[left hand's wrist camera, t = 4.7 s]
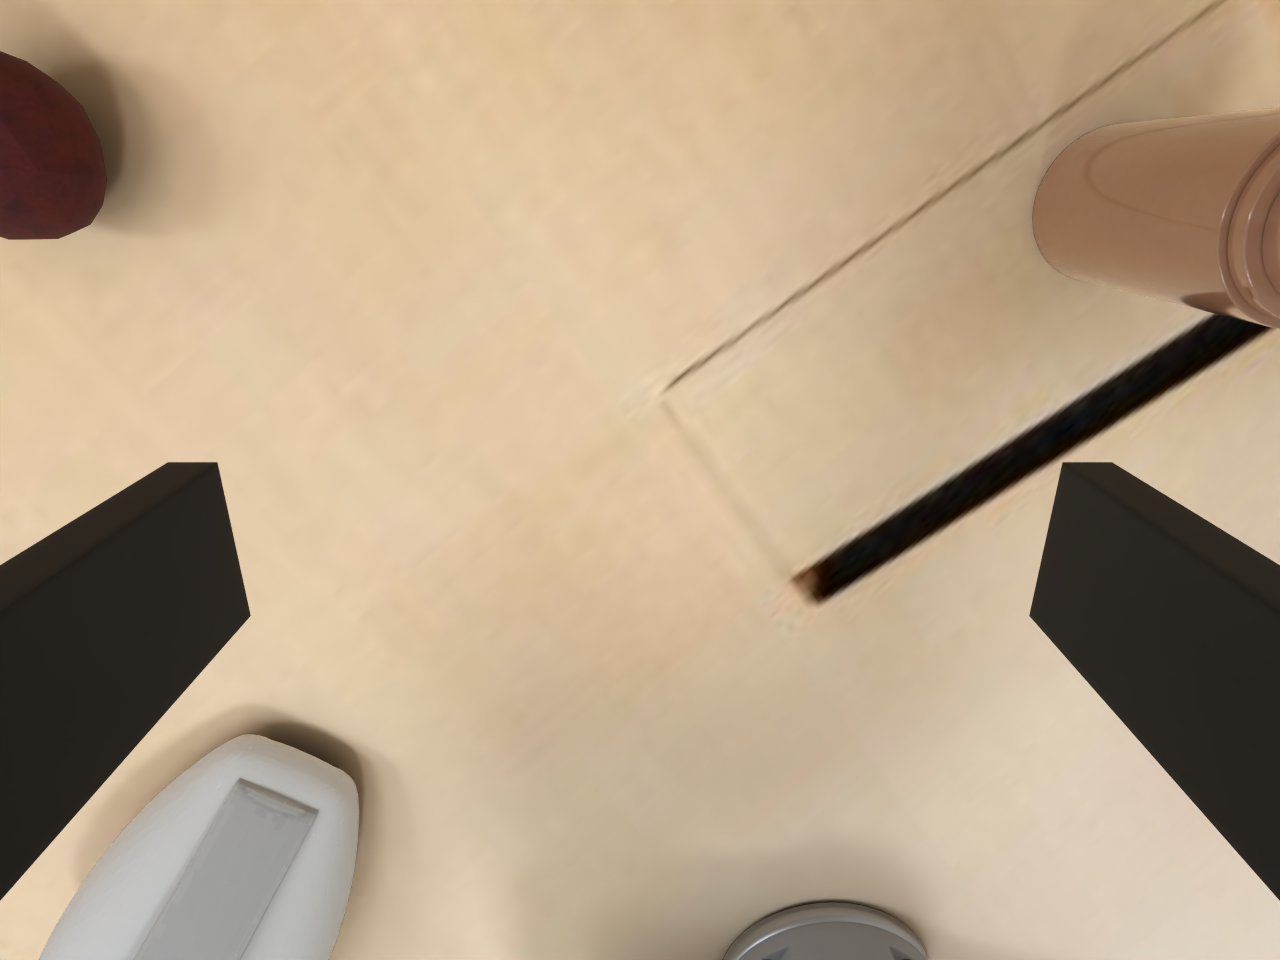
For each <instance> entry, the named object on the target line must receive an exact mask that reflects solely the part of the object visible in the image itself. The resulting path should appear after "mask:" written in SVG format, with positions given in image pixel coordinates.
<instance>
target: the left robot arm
mask: <svg viewBox="0 0 1280 960" xmlns="http://www.w3.org/2000/svg"><path fill="white" fill-rule="evenodd" d="M250 616H251V615H250V611H249V606H248V602H247V597H246V592H245V588H244V583H243V579H242V574H241V569H240V565H239V560H238V555H237V551H236V546H235V542H234V537H233V532H232V528H231V523H230V519H229V514H228V509H227V505H226V500H225V496H224V491H223V486H222V482H221V477H220V473H219V468H218V463H217V462H168V463H166V464H165V465H163V466H161V467H160V468H158V469H156V470H155V471H153V472H152V473H150V474H148V475H147V476H145V477H143V478H142V479H140V480H139V481H137V482H135V483H134V484H132V485H130V486H129V487H127V488H125V489H124V490H122V491H121V492H119V493H117V494H116V495H114V496H112V497H111V498H109V499H108V500H106V501H104V502H103V503H101V504H99V505H98V506H96V507H95V508H93V509H91V510H90V511H88V512H86V513H85V514H83V515H81V516H80V517H78V518H77V519H75V520H73V521H72V522H70V523H68V524H67V525H65V526H64V527H62V528H60V529H59V530H57V531H55V532H54V533H52V534H51V535H49V536H47V537H46V538H44V539H42V540H41V541H39V542H37V543H36V544H34V545H33V546H31V547H29V548H28V549H26V550H24V551H23V552H21V553H20V554H18V555H16V556H15V557H13V558H11V559H10V560H8V561H7V562H5V563H3V564H2V565H0V900H1V899H2V898H3V897H4V896H5V895H6V893H7V892H8V891H9V890H10V889H11V888H12V887H13V885H14V884H15V883H16V882H17V881H18V880H19V879H20V877H21V876H22V875H23V874H24V873H25V872H26V871H27V870H28V868H29V867H30V866H31V865H32V864H33V863H34V862H35V860H36V859H37V858H38V857H39V856H40V855H41V854H42V852H43V851H44V850H45V849H46V848H47V847H48V846H49V844H50V843H51V842H52V841H53V840H54V839H55V838H56V837H57V835H58V834H59V833H60V832H61V831H62V830H63V829H64V827H65V826H66V825H67V824H68V823H69V822H70V821H71V819H72V818H73V817H74V816H75V815H76V814H77V813H78V812H79V810H80V809H81V808H82V807H83V806H84V805H85V804H86V802H87V801H88V800H89V799H90V798H91V797H92V796H93V794H94V793H95V792H96V791H97V790H98V789H99V788H100V786H101V785H102V784H103V783H104V782H105V781H106V780H107V779H108V777H109V776H110V775H111V774H112V773H113V772H114V771H115V769H116V768H117V767H118V766H119V765H120V764H121V763H122V761H123V760H124V759H125V758H126V757H127V756H128V755H129V753H130V752H131V751H132V750H133V749H134V748H135V747H136V746H137V744H138V743H139V742H140V741H141V740H142V739H143V738H144V736H145V735H146V734H147V733H148V732H149V731H150V730H151V728H152V727H153V726H154V725H155V724H156V723H157V722H158V721H159V719H160V718H161V717H162V716H163V715H164V714H165V713H166V711H167V710H168V709H169V708H170V707H171V706H172V705H173V703H174V702H175V701H176V700H177V699H178V698H179V697H180V695H181V694H182V693H183V692H184V691H185V690H186V689H187V688H188V686H189V685H190V684H191V683H192V682H193V681H194V680H195V678H196V677H197V676H198V675H199V674H200V673H201V672H202V670H203V669H204V668H205V667H206V666H207V665H208V664H209V662H210V661H211V660H212V659H213V658H214V657H215V656H216V655H217V653H218V652H219V651H220V650H221V649H222V648H223V647H224V645H225V644H226V643H227V642H228V641H229V640H230V639H231V637H232V636H233V635H234V634H235V633H236V632H237V631H238V630H239V628H240V627H241V626H242V625H243V624H244V623H245V622H246V620H247V619H248V618H249V617H250ZM1029 616H1030V617H1031V618H1032V619H1033V620H1034V622H1035V623H1036V624H1037V625H1038V626H1039V627H1040V628H1041V630H1042V631H1043V632H1044V633H1045V634H1046V635H1047V636H1048V637H1049V639H1050V640H1051V641H1052V642H1053V643H1054V644H1055V645H1056V647H1057V648H1058V649H1059V650H1060V651H1061V652H1062V653H1063V655H1064V656H1065V657H1066V658H1067V659H1068V660H1069V661H1070V662H1071V664H1072V665H1073V666H1074V667H1075V668H1076V669H1077V670H1078V672H1079V673H1080V674H1081V675H1082V676H1083V677H1084V678H1085V680H1086V681H1087V682H1088V683H1089V684H1090V685H1091V686H1092V688H1093V689H1094V690H1095V691H1096V692H1097V693H1098V694H1099V695H1100V697H1101V698H1102V699H1103V700H1104V701H1105V702H1106V703H1107V705H1108V706H1109V707H1110V708H1111V709H1112V710H1113V711H1114V713H1115V714H1116V715H1117V716H1118V717H1119V718H1120V719H1121V721H1122V722H1123V723H1124V724H1125V725H1126V726H1127V727H1128V728H1129V730H1130V731H1131V732H1132V733H1133V734H1134V735H1135V736H1136V738H1137V739H1138V740H1139V741H1140V742H1141V743H1142V744H1143V746H1144V747H1145V748H1146V749H1147V750H1148V751H1149V752H1150V753H1151V755H1152V756H1153V757H1154V758H1155V759H1156V760H1157V761H1158V763H1159V764H1160V765H1161V766H1162V767H1163V768H1164V769H1165V771H1166V772H1167V773H1168V774H1169V775H1170V776H1171V777H1172V779H1173V780H1174V781H1175V782H1176V783H1177V784H1178V785H1179V786H1180V788H1181V789H1182V790H1183V791H1184V792H1185V793H1186V794H1187V796H1188V797H1189V798H1190V799H1191V800H1192V801H1193V802H1194V804H1195V805H1196V806H1197V807H1198V808H1199V809H1200V810H1201V812H1202V813H1203V814H1204V815H1205V816H1206V817H1207V818H1208V819H1209V821H1210V822H1211V823H1212V824H1213V825H1214V826H1215V827H1216V829H1217V830H1218V831H1219V832H1220V833H1221V834H1222V835H1223V837H1224V838H1225V839H1226V840H1227V841H1228V842H1229V843H1230V844H1231V846H1232V847H1233V848H1234V849H1235V850H1236V851H1237V852H1238V854H1239V855H1240V856H1241V857H1242V858H1243V859H1244V860H1245V862H1246V863H1247V864H1248V865H1249V866H1250V867H1251V868H1252V870H1253V871H1254V872H1255V873H1256V874H1257V875H1258V876H1259V877H1260V879H1261V880H1262V881H1263V882H1264V883H1265V884H1266V885H1267V887H1268V888H1269V889H1270V890H1271V891H1272V892H1273V893H1274V895H1275V896H1276V897H1277V898H1278V899H1279V900H1280V565H1278V564H1277V563H1275V562H1273V561H1272V560H1270V559H1269V558H1267V557H1265V556H1264V555H1262V554H1260V553H1259V552H1257V551H1256V550H1254V549H1252V548H1251V547H1249V546H1247V545H1246V544H1244V543H1243V542H1241V541H1239V540H1238V539H1236V538H1234V537H1233V536H1231V535H1229V534H1228V533H1226V532H1225V531H1223V530H1221V529H1220V528H1218V527H1216V526H1215V525H1213V524H1212V523H1210V522H1208V521H1207V520H1205V519H1203V518H1202V517H1200V516H1199V515H1197V514H1195V513H1194V512H1192V511H1190V510H1189V509H1187V508H1185V507H1184V506H1182V505H1181V504H1179V503H1177V502H1176V501H1174V500H1172V499H1171V498H1169V497H1168V496H1166V495H1164V494H1163V493H1161V492H1159V491H1158V490H1156V489H1155V488H1153V487H1151V486H1150V485H1148V484H1146V483H1145V482H1143V481H1141V480H1140V479H1138V478H1137V477H1135V476H1133V475H1132V474H1130V473H1128V472H1127V471H1125V470H1124V469H1122V468H1120V467H1119V466H1117V465H1115V464H1114V463H1112V462H1063V463H1062V468H1061V473H1060V477H1059V482H1058V486H1057V491H1056V496H1055V500H1054V505H1053V509H1052V514H1051V519H1050V523H1049V528H1048V532H1047V537H1046V542H1045V546H1044V551H1043V555H1042V560H1041V565H1040V569H1039V574H1038V579H1037V583H1036V588H1035V592H1034V597H1033V602H1032V606H1031V611H1030V615H1029ZM723 960H928V959H927V956H926V953H925V950H924V948H923V946H922V944H921V942H920V941H919V939H918V938H917V936H916V935H915V934H914V933H913V932H912V931H911V930H910V929H909V928H908V927H907V926H906V925H904V924H903V923H902V922H900V921H899V920H897V919H896V918H894V917H892V916H890V915H888V914H886V913H884V912H882V911H879V910H876V909H873V908H870V907H866V906H862V905H856V904H849V903H834V902H830V903H815V904H807V905H802V906H797V907H793V908H789V909H786V910H783V911H780V912H778V913H775V914H773V915H771V916H768V917H767V918H765V919H763V920H761V921H759V922H757V923H756V924H754V925H753V926H751V927H750V928H749V929H747V930H746V931H745V932H744V933H742V934H741V935H740V936H739V937H738V938H737V939H736V940H735V941H734V943H733V944H732V945H731V946H730V948H729V949H728V951H727V952H726V954H725V956H724V958H723Z"/></svg>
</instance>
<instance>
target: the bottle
mask: <svg viewBox="0 0 1280 960" xmlns="http://www.w3.org/2000/svg"><path fill="white" fill-rule="evenodd" d="M1033 230H1034V235H1035V239H1036V242H1037V245H1038V248H1039V250H1040V251H1041V253H1042V255H1043V256H1044V258H1045V259H1046V261H1047V262H1048V263H1049V264H1050V265H1051V266H1052V267H1053V268H1054V269H1056V270H1057V271H1059V272H1060V273H1062V274H1064V275H1066V276H1068V277H1070V278H1073V279H1076V280H1080V281H1085V282H1089V283H1093V284H1097V285H1101V286H1105V287H1109V288H1113V289H1117V290H1121V291H1125V292H1130V293H1134V294H1138V295H1142V296H1146V297H1150V298H1154V299H1158V300H1162V301H1166V302H1170V303H1175V304H1179V305H1183V306H1187V307H1191V308H1195V309H1199V310H1203V311H1207V312H1211V313H1215V314H1220V315H1224V316H1228V317H1232V318H1236V319H1240V320H1244V321H1248V322H1252V323H1256V324H1260V325H1265V326H1269V327H1273V328H1279V329H1280V107H1276V108H1266V109H1257V110H1247V111H1237V112H1227V113H1218V114H1208V115H1198V116H1188V117H1179V118H1169V119H1159V120H1150V121H1140V122H1130V123H1120V124H1112V125H1108V126H1104V127H1101V128H1098V129H1096V130H1093V131H1091V132H1089V133H1087V134H1085V135H1083V136H1082V137H1080V138H1079V139H1077V140H1076V141H1074V142H1073V143H1072V144H1071V145H1070V146H1068V147H1067V148H1066V149H1065V150H1064V151H1063V152H1062V153H1061V154H1060V155H1059V156H1058V157H1057V158H1056V160H1055V161H1054V162H1053V164H1052V165H1051V166H1050V168H1049V169H1048V171H1047V173H1046V174H1045V176H1044V178H1043V180H1042V182H1041V184H1040V186H1039V189H1038V192H1037V195H1036V198H1035V203H1034V208H1033Z"/></svg>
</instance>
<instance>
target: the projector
mask: <svg viewBox="0 0 1280 960" xmlns="http://www.w3.org/2000/svg"><path fill="white" fill-rule="evenodd" d="M358 831H359V801H358V793H357V788H356V785H355V783H354V781H353V780H352V778H351V777H350V776H349V775H348V774H347V773H345V772H344V771H342V770H341V769H339V768H336V767H334V766H332V765H330V764H328V763H326V762H324V761H322V760H320V759H318V758H316V757H314V756H312V755H310V754H308V753H305V752H303V751H301V750H298V749H296V748H293V747H291V746H288V745H286V744H283V743H280V742H277V741H274V740H271V739H268V738H267V737H264V736H260V735H254V734H247V735H241V736H238V737H235V738H233V739H231V740H229V741H227V742H226V743H224V744H222V745H221V746H219V747H217V748H216V749H214V750H213V751H211V752H210V753H208V754H207V755H206V756H204V757H203V758H201V759H200V760H199V761H197V762H196V763H195V764H194V765H192V766H191V767H190V768H188V769H187V770H186V771H184V772H183V773H182V774H181V775H179V776H178V777H177V778H176V779H175V780H174V781H173V782H171V783H170V784H169V785H168V786H167V787H166V788H164V789H163V790H162V791H161V792H160V793H159V794H158V795H157V796H156V797H155V798H154V799H153V800H151V801H150V802H149V803H148V804H147V805H146V806H145V807H144V808H143V809H142V810H141V811H140V813H139V814H138V815H137V816H136V817H135V818H134V819H133V820H132V821H131V822H130V823H129V824H128V825H127V826H126V827H125V828H124V830H123V831H122V832H121V833H120V834H119V836H118V837H117V838H116V839H115V840H114V842H113V843H112V844H111V845H110V846H109V848H108V849H107V850H106V851H105V853H104V854H103V855H102V857H101V858H100V859H99V861H98V862H97V863H96V865H95V866H94V867H93V869H92V870H91V872H90V873H89V874H88V876H87V877H86V879H85V880H84V882H83V883H82V885H81V886H80V888H79V889H78V891H77V892H76V894H75V895H74V897H73V898H72V900H71V901H70V903H69V904H68V906H67V908H66V909H65V911H64V913H63V914H62V916H61V918H60V919H59V921H58V923H57V925H56V926H55V928H54V930H53V932H52V934H51V936H50V938H49V939H48V941H47V943H46V945H45V947H44V949H43V951H42V953H41V955H40V958H39V960H329V958H330V956H331V953H332V951H333V948H334V945H335V943H336V940H337V937H338V934H339V931H340V928H341V925H342V921H343V918H344V915H345V912H346V908H347V904H348V899H349V895H350V890H351V886H352V881H353V875H354V870H355V862H356V854H357V845H358Z"/></svg>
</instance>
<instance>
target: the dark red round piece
mask: <svg viewBox="0 0 1280 960" xmlns="http://www.w3.org/2000/svg"><path fill="white" fill-rule="evenodd" d="M106 181H107V177H106V172H105V167H104V161H103V156H102V151H101V146H100V141H99V139H98V137H97V135H96V133H95V131H94V129H93V127H92V125H91V123H90V121H89V119H88V117H87V115H86V113H85V111H84V109H83V107H82V106H81V105H80V104H79V103H78V102H77V101H76V100H75V99H74V98H73V97H72V96H71V95H70V94H69V93H68V92H67V91H66V90H65V89H64V88H63V87H62V86H61V85H60V84H59V83H57V82H56V81H55V80H53V79H52V78H50V77H49V76H47V75H46V74H44V73H43V72H41V71H40V70H38V69H37V68H35V67H34V66H33V65H31V64H30V63H28V62H27V61H24V60H21V59H19V58H16V57H14V56H11V55H8V54H6V53H3V52H1V51H0V237H3V238H6V239H59V238H61V237H64V236H66V235H69V234H71V233H73V232H75V231H78V230H80V229H82V228H84V227H86V226H88V225H90V224H91V223H92V221H93V220H94V218H95V217H96V215H97V213H98V212H99V210H100V209H101V207H102V205H103V201H104V195H105V188H106Z"/></svg>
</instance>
